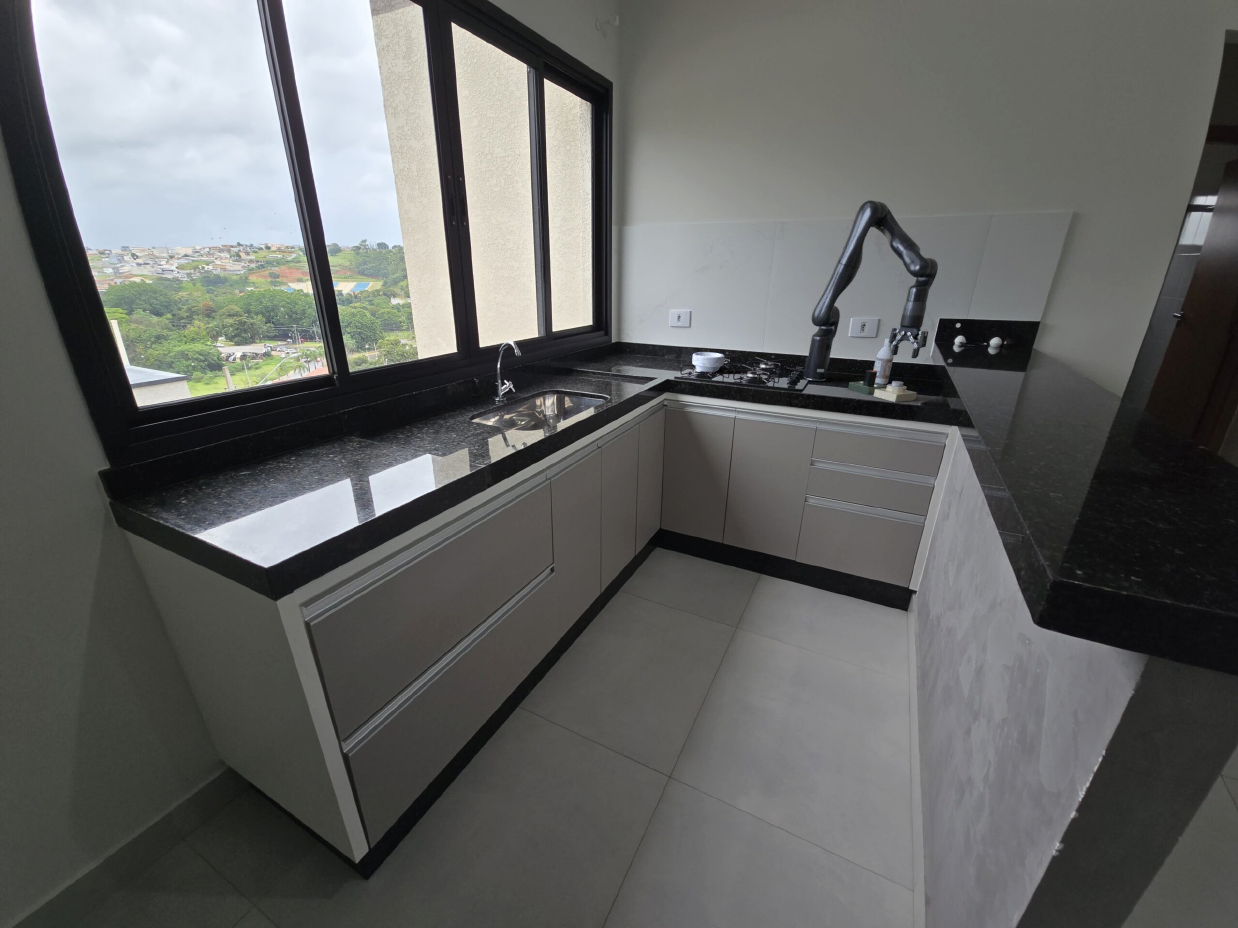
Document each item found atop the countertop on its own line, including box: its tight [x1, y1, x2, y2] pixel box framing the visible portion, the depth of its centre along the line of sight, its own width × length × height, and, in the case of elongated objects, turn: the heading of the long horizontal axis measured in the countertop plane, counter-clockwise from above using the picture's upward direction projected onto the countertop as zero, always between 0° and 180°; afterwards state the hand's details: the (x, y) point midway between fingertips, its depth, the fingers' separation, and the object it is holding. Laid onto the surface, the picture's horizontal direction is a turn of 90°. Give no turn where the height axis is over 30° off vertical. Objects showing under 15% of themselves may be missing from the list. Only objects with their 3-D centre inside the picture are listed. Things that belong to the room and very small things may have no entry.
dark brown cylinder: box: [863, 369, 877, 385], centre depth 214 cm, size 4×4×6 cm
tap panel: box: [847, 380, 888, 395], centre depth 216 cm, size 10×12×3 cm
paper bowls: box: [692, 351, 726, 373], centre depth 245 cm, size 15×15×8 cm
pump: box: [891, 380, 904, 387], centre depth 204 cm, size 4×4×2 cm
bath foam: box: [873, 337, 895, 385], centre depth 231 cm, size 7×7×20 cm
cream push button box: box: [873, 383, 918, 403], centre depth 205 cm, size 10×12×5 cm
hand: (903, 356), depth 199 cm, fingers open, 8 cm apart
